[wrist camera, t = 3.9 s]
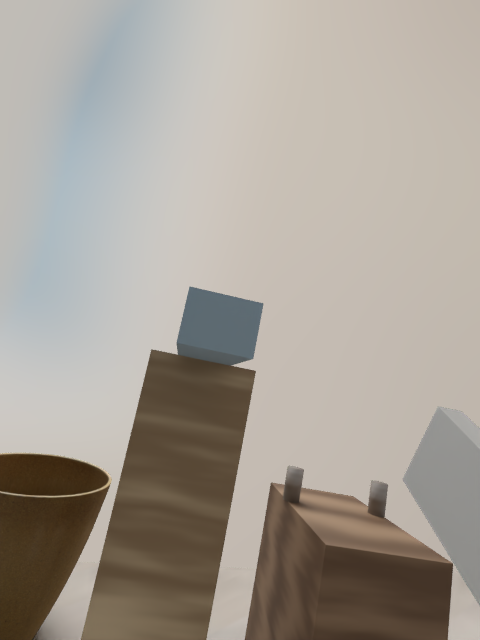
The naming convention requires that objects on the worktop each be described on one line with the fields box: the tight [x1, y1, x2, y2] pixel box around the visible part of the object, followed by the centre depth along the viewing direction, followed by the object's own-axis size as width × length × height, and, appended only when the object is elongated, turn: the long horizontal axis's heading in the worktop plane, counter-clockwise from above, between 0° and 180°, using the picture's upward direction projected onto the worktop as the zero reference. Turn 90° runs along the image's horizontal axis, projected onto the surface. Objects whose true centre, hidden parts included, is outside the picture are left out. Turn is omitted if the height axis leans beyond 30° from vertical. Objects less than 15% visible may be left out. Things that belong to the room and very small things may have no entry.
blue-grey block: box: [177, 287, 263, 366], centre depth 30 cm, size 22×4×3 cm, turn 9°
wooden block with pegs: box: [245, 466, 453, 640], centre depth 32 cm, size 16×11×22 cm, turn 9°
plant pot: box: [0, 453, 112, 640], centre depth 38 cm, size 15×15×16 cm
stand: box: [81, 350, 256, 640], centre depth 31 cm, size 14×8×30 cm, turn 9°
